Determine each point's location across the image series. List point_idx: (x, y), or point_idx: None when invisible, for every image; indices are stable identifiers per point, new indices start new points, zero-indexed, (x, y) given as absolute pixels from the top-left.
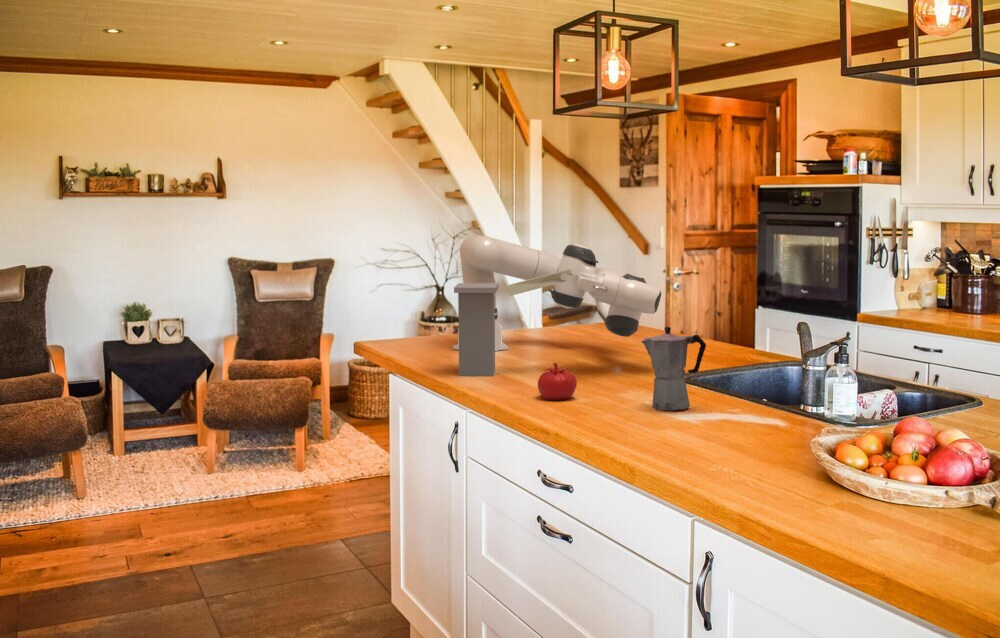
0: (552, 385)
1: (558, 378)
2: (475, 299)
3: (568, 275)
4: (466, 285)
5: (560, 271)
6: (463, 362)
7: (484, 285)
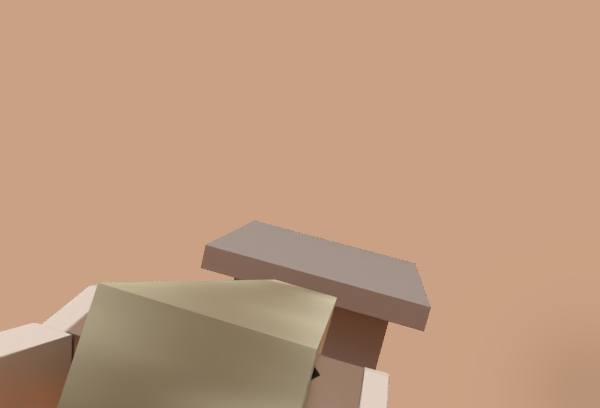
0: None
1: None
2: None
3: (18, 332)
4: (326, 247)
5: (286, 316)
6: None
7: (317, 261)
